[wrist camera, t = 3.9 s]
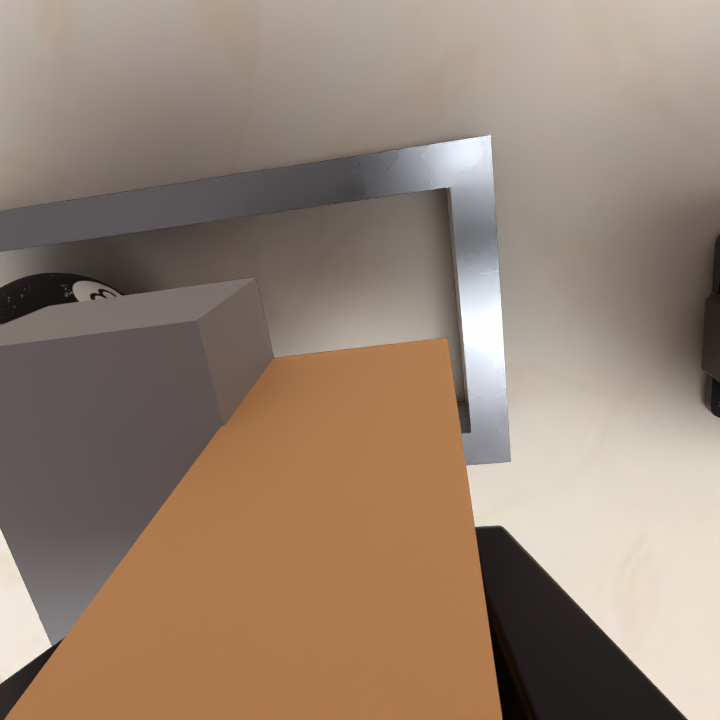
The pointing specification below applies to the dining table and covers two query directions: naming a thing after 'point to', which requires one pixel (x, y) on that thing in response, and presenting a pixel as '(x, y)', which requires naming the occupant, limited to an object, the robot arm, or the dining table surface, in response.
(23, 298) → the billiard ball
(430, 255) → the dining table surface
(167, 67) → the dining table surface
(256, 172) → the grey rectangular frame
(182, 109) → the dining table surface
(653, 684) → the robot arm
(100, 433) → the two-tone block
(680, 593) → the dining table surface
